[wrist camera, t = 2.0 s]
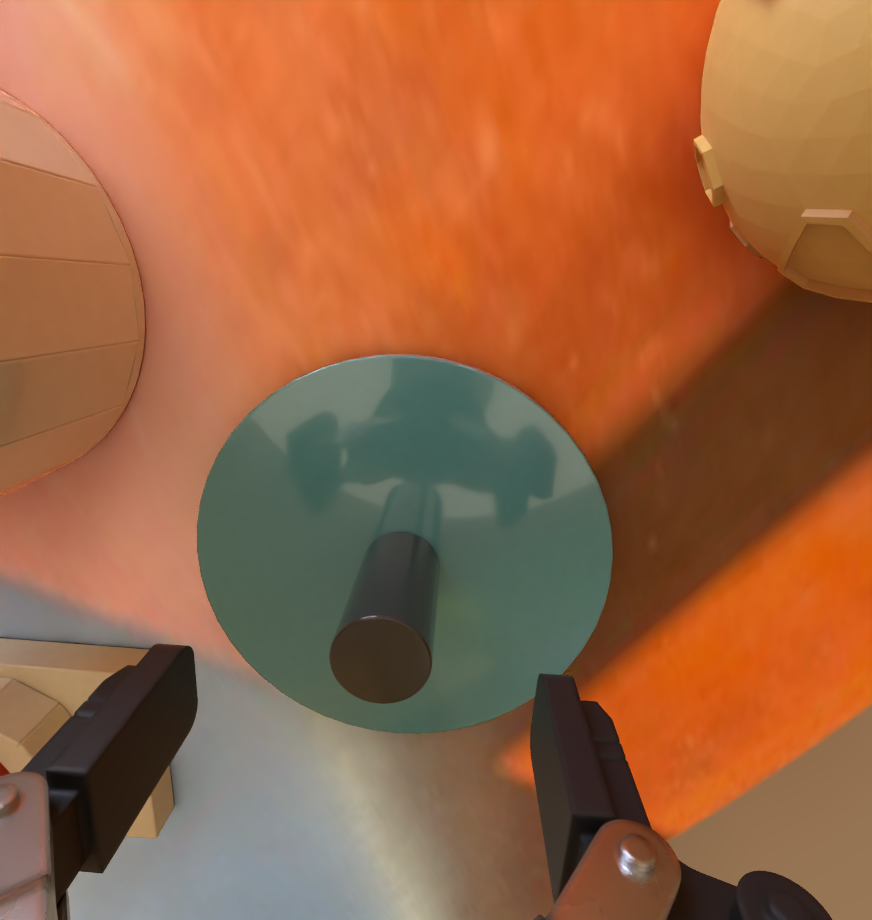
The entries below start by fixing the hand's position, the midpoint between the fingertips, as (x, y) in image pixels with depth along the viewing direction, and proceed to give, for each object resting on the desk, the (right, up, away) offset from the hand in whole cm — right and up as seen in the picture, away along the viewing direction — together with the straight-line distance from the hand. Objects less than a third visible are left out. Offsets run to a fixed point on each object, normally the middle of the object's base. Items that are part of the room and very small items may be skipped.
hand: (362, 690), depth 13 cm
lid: (+1, +2, +6) cm, 7 cm away
